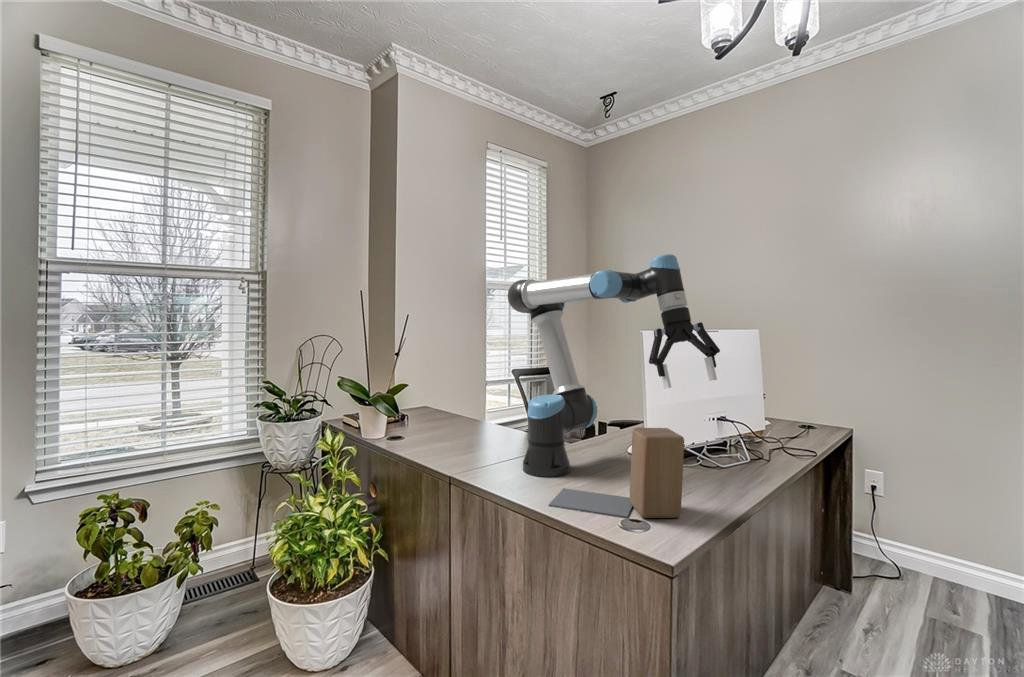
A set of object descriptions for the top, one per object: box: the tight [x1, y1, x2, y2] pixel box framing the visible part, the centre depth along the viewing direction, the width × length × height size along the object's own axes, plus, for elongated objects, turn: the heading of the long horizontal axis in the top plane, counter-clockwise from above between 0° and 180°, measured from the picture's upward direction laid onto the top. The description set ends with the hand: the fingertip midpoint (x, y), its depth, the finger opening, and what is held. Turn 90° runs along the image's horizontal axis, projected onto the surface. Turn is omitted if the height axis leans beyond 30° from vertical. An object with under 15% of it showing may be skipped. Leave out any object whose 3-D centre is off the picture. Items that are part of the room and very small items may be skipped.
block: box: [629, 427, 685, 519], centre depth 119 cm, size 10×10×20 cm
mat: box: [548, 487, 634, 519], centre depth 125 cm, size 20×13×1 cm, turn 67°
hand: (690, 384), depth 131 cm, fingers open, 13 cm apart
